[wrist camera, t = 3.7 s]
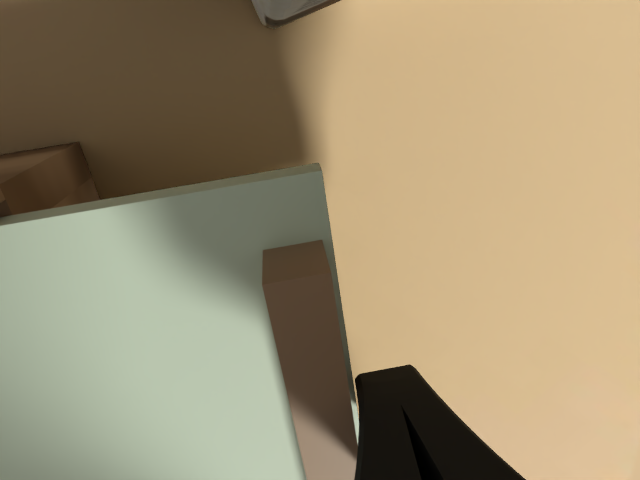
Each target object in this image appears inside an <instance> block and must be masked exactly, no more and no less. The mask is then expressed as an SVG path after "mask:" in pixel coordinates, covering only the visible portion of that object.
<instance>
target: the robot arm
mask: <svg viewBox="0 0 640 480" xmlns="http://www.w3.org/2000/svg"><path fill="white" fill-rule="evenodd" d="M355 383H356V390H357V397H358V405H359V435H358V451H357V462H356V470H355V477H354V480H526V479H524V478H523V477H522V476H521V475H520V474H519V473H517V472H516V471H515V470H514V469H513V468H512V467H511V466H510V465H508V464H507V463H506V462H505V461H504V460H503V459H502V458H501V457H499V456H498V455H497V454H496V453H495V452H494V451H493V450H492V449H491V448H490V447H489V446H488V445H487V444H485V443H484V442H483V441H482V440H481V439H480V438H479V437H478V436H477V435H476V434H475V433H474V432H473V431H472V430H471V429H470V428H469V427H468V426H467V425H466V424H465V423H464V422H463V421H462V420H461V419H460V418H459V417H458V416H457V415H456V414H455V413H454V412H453V411H452V410H451V409H450V408H449V407H448V405H447V404H446V403H445V402H444V401H443V400H442V399H441V398H440V397H439V396H438V395H437V393H436V392H435V391H434V390H433V389H432V388H431V387H430V385H429V384H428V383H427V382H426V381H425V380H424V378H423V377H422V376H421V375H420V373H419V372H418V371H417V370H416V368H414V367H413V366H411V365H405V366H400V367H394V368H389V369H384V370H378V371H373V372H368V373H362V374H359V375H358V376H357V377H356V378H355Z"/></svg>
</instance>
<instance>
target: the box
mask: <svg viewBox="0 0 640 480" xmlns="http://www.w3.org/2000/svg"><path fill="white" fill-rule="evenodd" d="M98 200H100V198H99V196H98V193H97V190H96V187H95V185H94V182H93V179H92V177H91V174H90V171H89V169H88V166H87V163H86V161H85V158H84V155H83V152H82V150H81V147H80V144H79V142H76V143H69V144H63V145H57V146H51V147H45V148H39V149H33V150H27V151H21V152H15V153H9V154H3V155H0V217H5V216H10V215H16V214H22V213H28V212H34V211H40V210H45V209H51V208H57V207H63V206H69V205H74V204H80V203H86V202H92V201H98Z"/></svg>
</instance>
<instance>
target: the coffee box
mask: <svg viewBox="0 0 640 480" xmlns="http://www.w3.org/2000/svg"><path fill="white" fill-rule="evenodd" d="M251 1H252V3H253V5H254V7H255V10H256V12H257V14H258V17H259V19H260V21H261V23H262V24H263V25H264V26H266V27H269V28H273V29H275V28H279V27H281V26H283V25H286V24H288V23H290V22H292V21H295V20H297V19H299V18H302V17H304V16H306V15H308V14H311V13H313V12H315V11H318V10H320V9H322V8H324V7H327V6H329V5H331V4H334V3H336V2H338V1H340V0H251Z"/></svg>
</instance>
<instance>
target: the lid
mask: <svg viewBox="0 0 640 480" xmlns="http://www.w3.org/2000/svg"><path fill="white" fill-rule="evenodd" d="M358 435H359V419H358V412H357V405H356V398H355V391H354V385H353V378H352V371H351V364H350V358H349V351H348V344H347V337H346V330H345V324H344V317H343V310H342V303H341V297H340V290H339V283H338V276H337V269H336V263H335V256H334V249H333V242H332V236H331V229H330V222H329V215H328V208H327V202H326V195H325V188H324V181H323V175H322V170H321V167H320V165H319V163H314V164H308V165H302V166H296V167H290V168H284V169H279V170H273V171H267V172H261V173H255V174H249V175H244V176H238V177H232V178H226V179H220V180H214V181H209V182H203V183H197V184H191V185H185V186H179V187H174V188H168V189H162V190H156V191H150V192H144V193H139V194H133V195H127V196H121V197H115V198H109V199H104V200H98V201H92V202H86V203H80V204H74V205H69V206H63V207H57V208H51V209H45V210H40V211H34V212H28V213H22V214H16V215H10V216H5V217H0V480H354V477H355V470H356V462H357V451H358Z"/></svg>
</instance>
